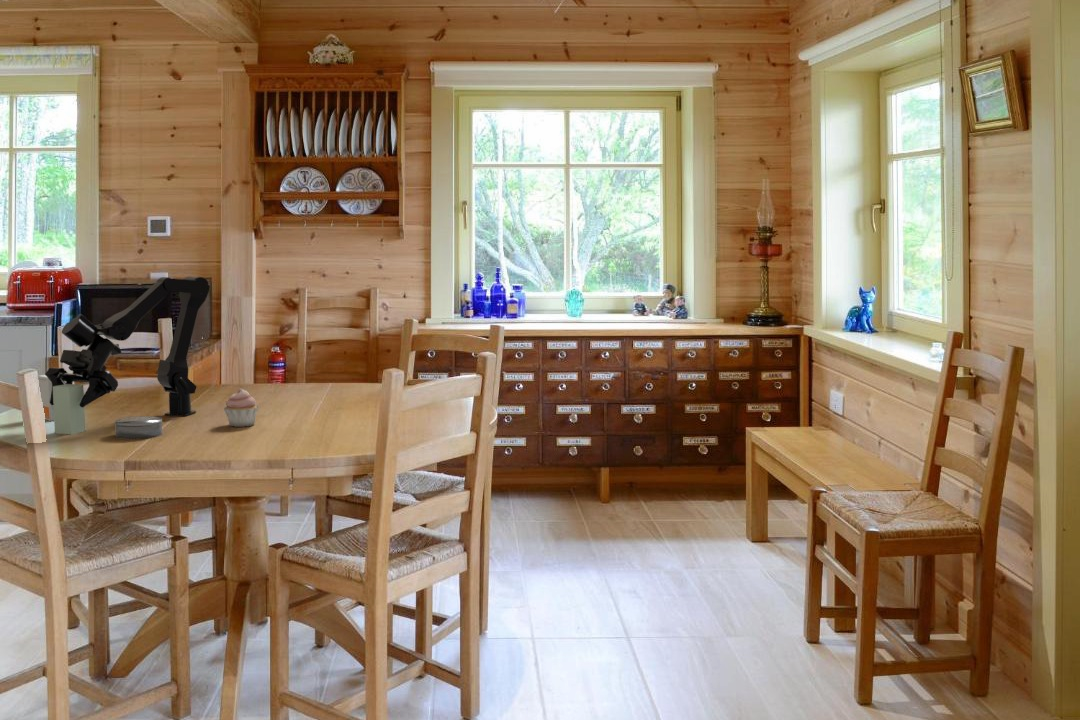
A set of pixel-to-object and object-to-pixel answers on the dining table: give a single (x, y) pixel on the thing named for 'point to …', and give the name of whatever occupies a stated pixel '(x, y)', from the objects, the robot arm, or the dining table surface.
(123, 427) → the charcoal tin
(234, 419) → the cupcake
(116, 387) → the robot arm
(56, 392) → the sage block
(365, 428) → the dining table surface
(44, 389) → the skincare box
